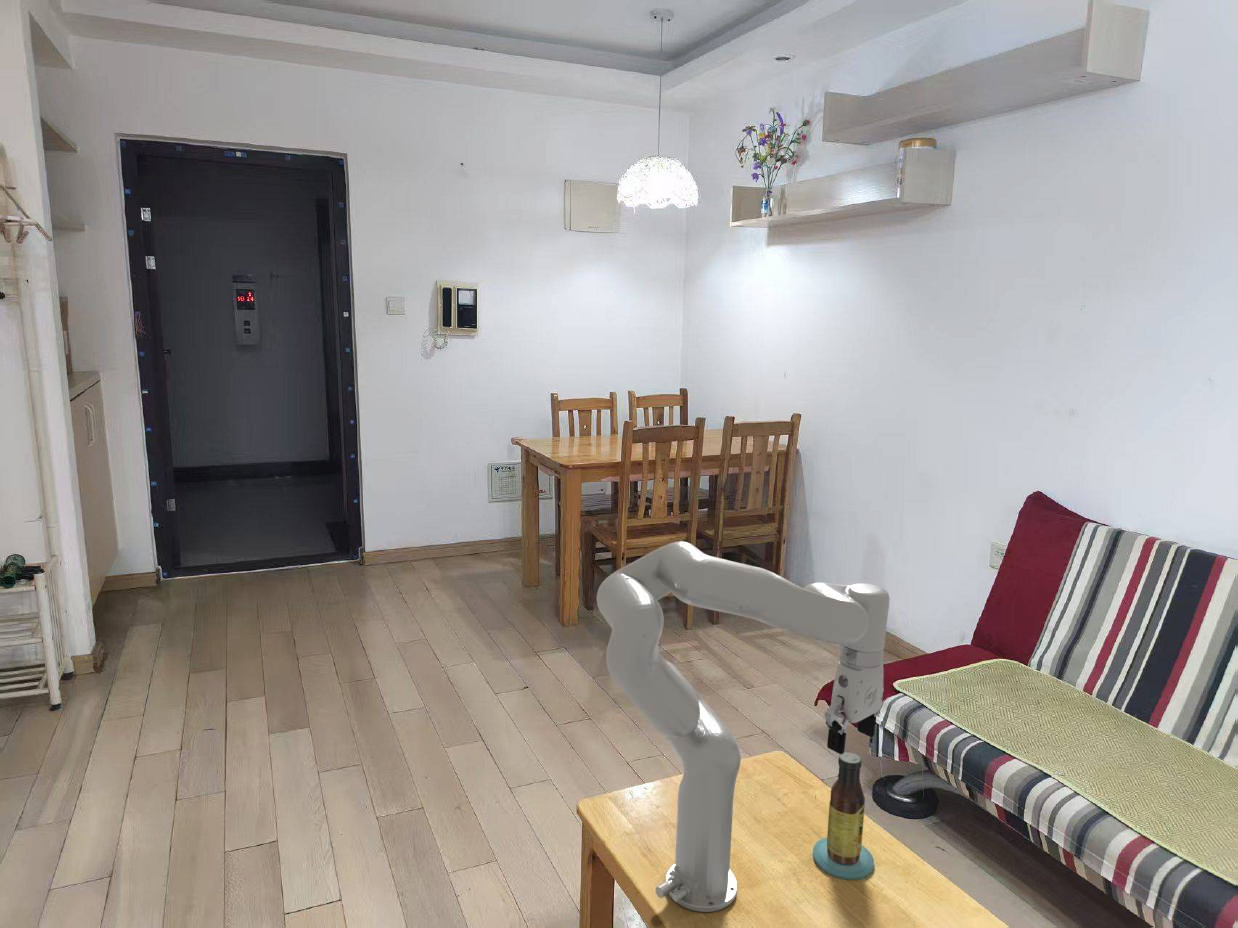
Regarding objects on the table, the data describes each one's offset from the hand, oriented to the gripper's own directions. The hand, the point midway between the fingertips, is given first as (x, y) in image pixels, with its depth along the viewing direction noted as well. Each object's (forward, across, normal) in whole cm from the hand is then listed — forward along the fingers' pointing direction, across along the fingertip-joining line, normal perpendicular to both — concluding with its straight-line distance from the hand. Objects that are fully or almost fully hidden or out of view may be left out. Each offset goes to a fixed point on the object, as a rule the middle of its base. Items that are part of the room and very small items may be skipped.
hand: (850, 742), depth 146 cm
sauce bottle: (+23, +1, 0) cm, 23 cm away
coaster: (+24, +1, 0) cm, 24 cm away
